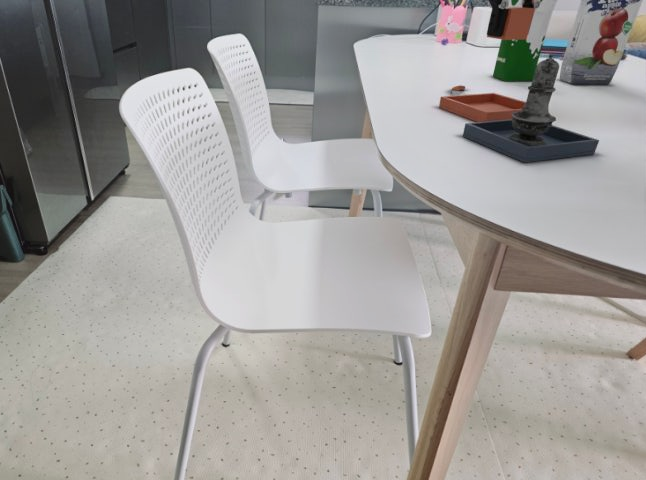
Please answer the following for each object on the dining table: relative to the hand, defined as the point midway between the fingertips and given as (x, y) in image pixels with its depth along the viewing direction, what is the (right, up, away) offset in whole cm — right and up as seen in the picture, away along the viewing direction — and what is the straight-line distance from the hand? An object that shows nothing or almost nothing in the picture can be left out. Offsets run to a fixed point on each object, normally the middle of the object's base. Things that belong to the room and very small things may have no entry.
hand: (507, 34), depth 79 cm
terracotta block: (0, 0, 0) cm, 1 cm away
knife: (0, -2, +21) cm, 21 cm away
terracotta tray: (0, -11, +7) cm, 13 cm away
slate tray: (-2, -21, -9) cm, 24 cm away
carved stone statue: (-2, -21, -10) cm, 23 cm away
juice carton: (+35, +6, +33) cm, 49 cm away
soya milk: (+20, +8, +37) cm, 43 cm away
